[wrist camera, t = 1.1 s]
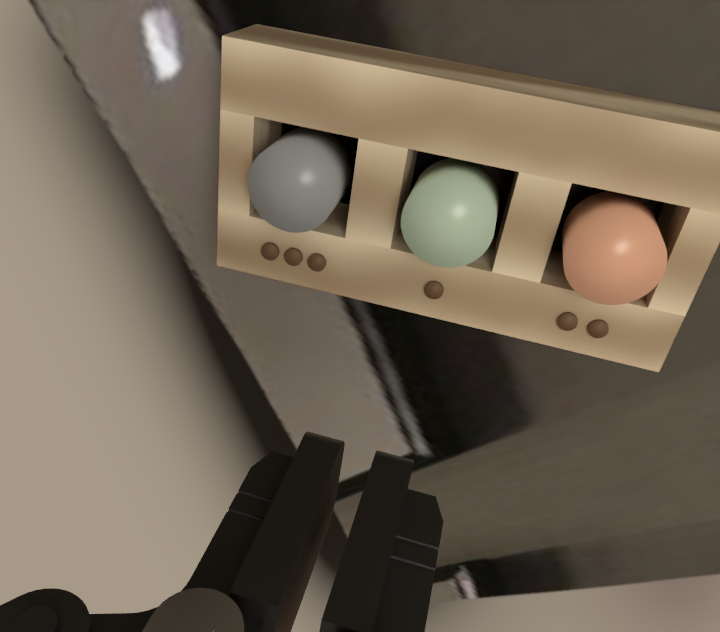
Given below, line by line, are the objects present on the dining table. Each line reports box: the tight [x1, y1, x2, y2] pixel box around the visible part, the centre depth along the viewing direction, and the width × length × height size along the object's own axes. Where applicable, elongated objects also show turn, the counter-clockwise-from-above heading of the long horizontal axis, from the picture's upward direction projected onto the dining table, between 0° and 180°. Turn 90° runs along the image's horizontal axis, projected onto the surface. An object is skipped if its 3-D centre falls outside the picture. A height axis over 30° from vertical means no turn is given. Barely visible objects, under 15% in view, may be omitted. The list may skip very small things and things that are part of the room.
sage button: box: [401, 158, 499, 268], centre depth 29 cm, size 4×4×3 cm
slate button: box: [248, 127, 352, 233], centre depth 30 cm, size 4×4×3 cm
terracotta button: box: [562, 191, 667, 305], centre depth 29 cm, size 4×4×3 cm
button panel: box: [217, 24, 720, 372], centre depth 31 cm, size 11×22×4 cm, turn 82°
